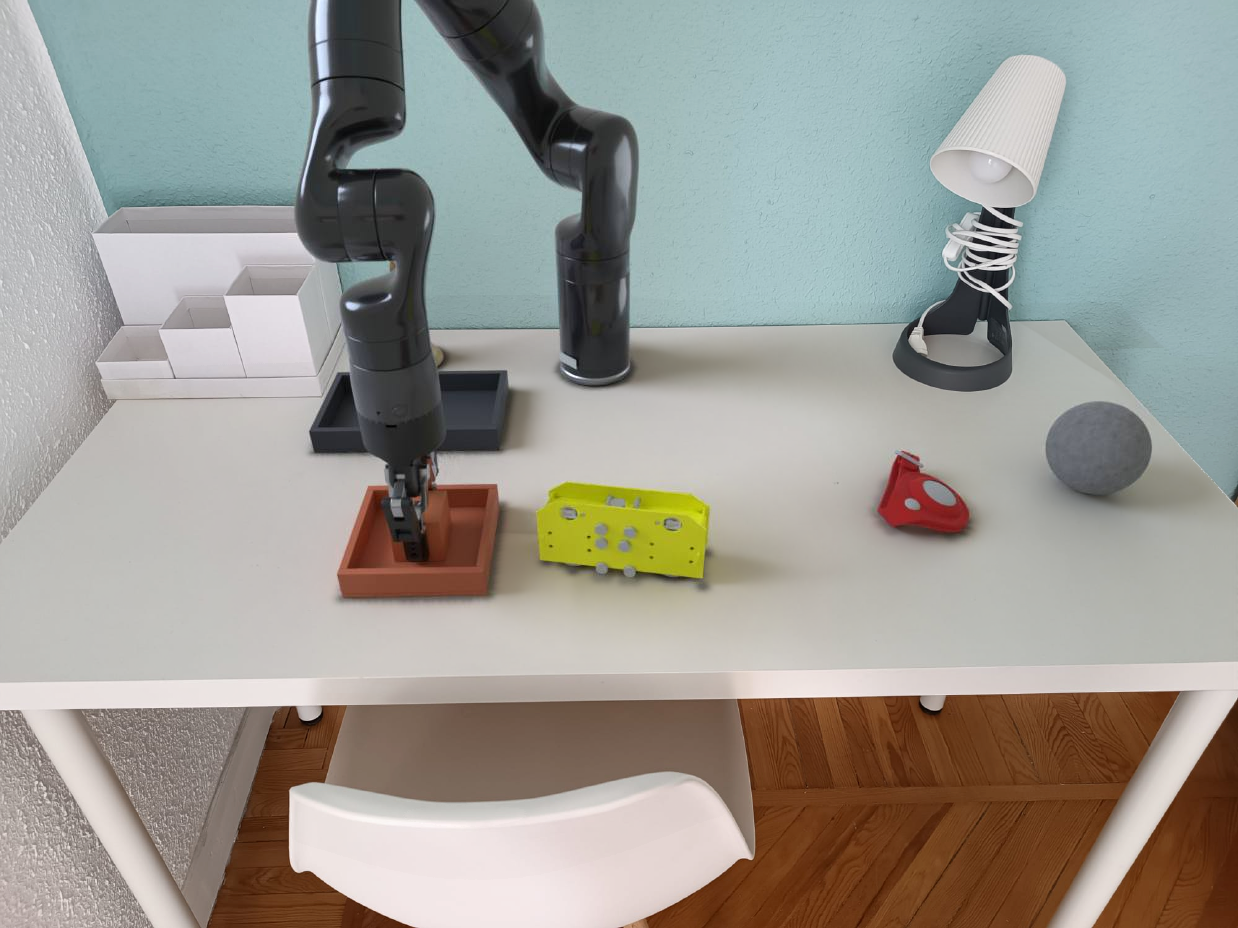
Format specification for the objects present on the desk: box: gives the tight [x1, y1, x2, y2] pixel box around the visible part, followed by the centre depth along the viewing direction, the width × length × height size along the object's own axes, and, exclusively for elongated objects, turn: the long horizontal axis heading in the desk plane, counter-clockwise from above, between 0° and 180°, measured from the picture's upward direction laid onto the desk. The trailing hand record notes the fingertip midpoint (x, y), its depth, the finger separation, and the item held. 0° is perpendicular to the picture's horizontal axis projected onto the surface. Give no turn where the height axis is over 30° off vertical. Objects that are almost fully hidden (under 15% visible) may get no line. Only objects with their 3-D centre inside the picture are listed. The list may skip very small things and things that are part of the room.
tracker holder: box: [876, 449, 970, 534], centre depth 92 cm, size 12×4×10 cm
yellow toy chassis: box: [535, 480, 711, 579], centre depth 84 cm, size 16×6×8 cm, turn 80°
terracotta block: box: [387, 490, 452, 562], centre depth 86 cm, size 5×5×5 cm
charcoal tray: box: [308, 369, 510, 454], centre depth 107 cm, size 14×22×3 cm, turn 91°
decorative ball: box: [1045, 400, 1153, 496], centre depth 93 cm, size 10×10×10 cm
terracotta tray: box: [336, 483, 501, 598], centre depth 87 cm, size 14×14×3 cm
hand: (423, 540), depth 88 cm, fingers closed on terracotta block, 5 cm apart
